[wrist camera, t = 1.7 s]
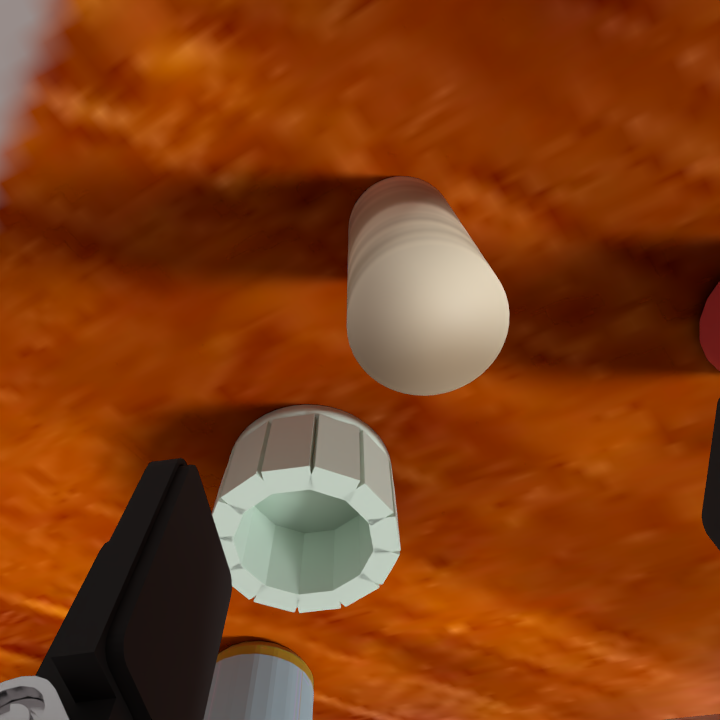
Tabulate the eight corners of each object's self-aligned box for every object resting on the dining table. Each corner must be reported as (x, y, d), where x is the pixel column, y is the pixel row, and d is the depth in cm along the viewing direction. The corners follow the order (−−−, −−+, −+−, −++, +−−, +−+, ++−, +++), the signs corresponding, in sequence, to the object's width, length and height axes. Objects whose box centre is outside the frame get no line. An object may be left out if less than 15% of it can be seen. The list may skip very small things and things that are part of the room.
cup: (210, 416, 29) (185, 481, 25) (380, 394, 29) (386, 456, 24) (249, 543, 33) (233, 620, 28) (400, 525, 32) (408, 600, 28)
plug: (340, 184, 24) (334, 258, 15) (448, 168, 24) (507, 234, 15) (356, 286, 26) (359, 404, 17) (456, 272, 26) (511, 384, 17)
